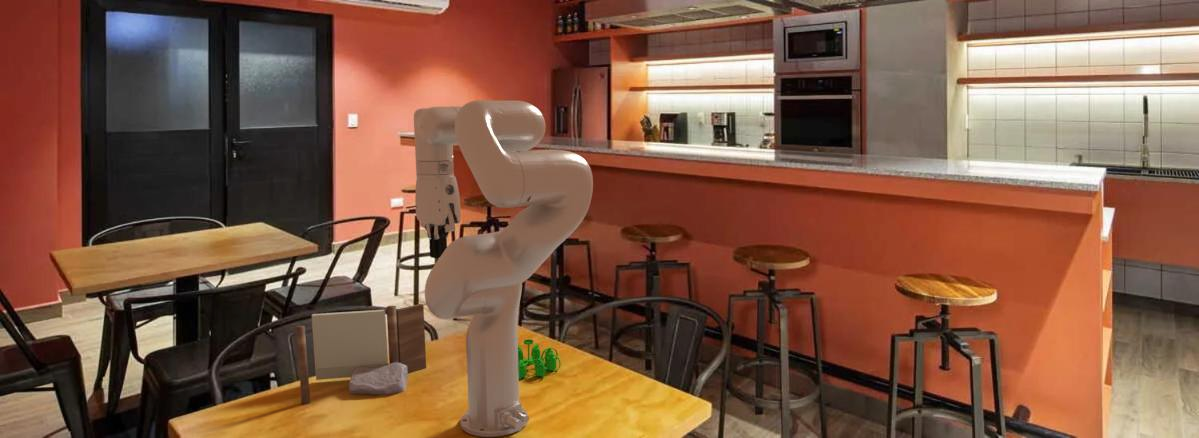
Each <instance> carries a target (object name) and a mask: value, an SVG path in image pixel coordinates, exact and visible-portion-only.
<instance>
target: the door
mask: <svg viewBox="0 0 1199 438" xmlns="http://www.w3.org/2000/svg"><path fill="white" fill-rule="evenodd" d="M311 328H312V339H313V354H314V356H313V357H314V367H315V368H314V369H315V380H316V381H321V380H333V379H346V378H351V376H352V374H353V372H354V371H355V370H356V369H357V368H358V367H361V366H364V367H367V368H372V367H373V368H377V367H380V366H382V365H385V364H389V359H388V358H389V354H388V336H387V317H386V309H375V310H371V309H370V310H360V311H359V310H357V311H356V310H354V311H341V312H326V313H313V314H311Z"/></svg>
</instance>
